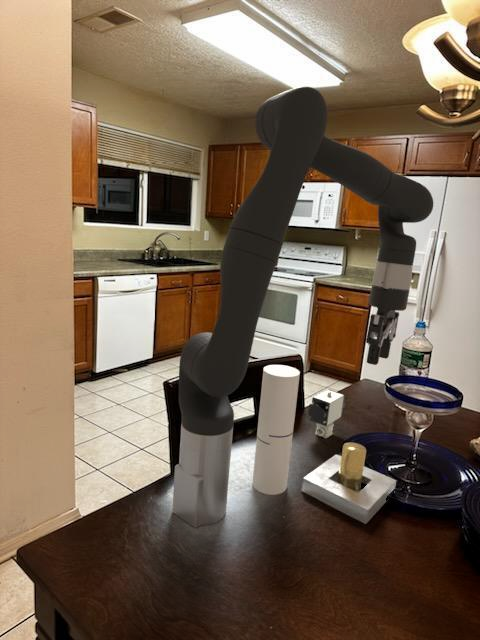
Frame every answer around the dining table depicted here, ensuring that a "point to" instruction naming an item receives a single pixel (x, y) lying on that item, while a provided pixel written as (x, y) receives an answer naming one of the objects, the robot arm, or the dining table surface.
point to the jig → (348, 490)
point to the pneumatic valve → (326, 411)
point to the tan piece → (352, 466)
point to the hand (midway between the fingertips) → (377, 360)
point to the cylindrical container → (275, 428)
